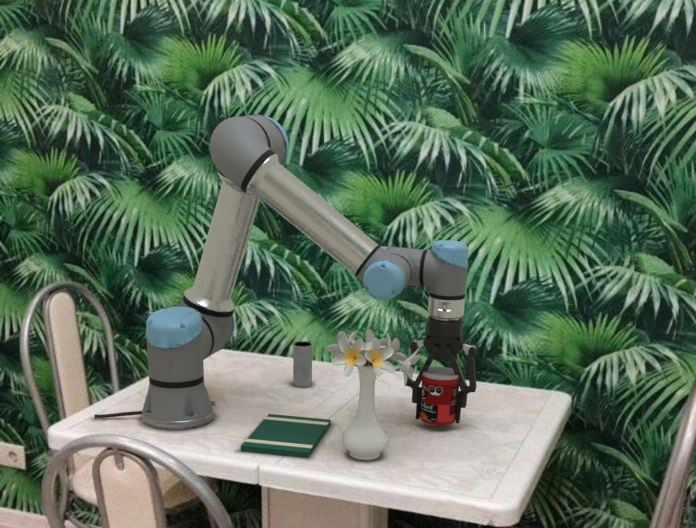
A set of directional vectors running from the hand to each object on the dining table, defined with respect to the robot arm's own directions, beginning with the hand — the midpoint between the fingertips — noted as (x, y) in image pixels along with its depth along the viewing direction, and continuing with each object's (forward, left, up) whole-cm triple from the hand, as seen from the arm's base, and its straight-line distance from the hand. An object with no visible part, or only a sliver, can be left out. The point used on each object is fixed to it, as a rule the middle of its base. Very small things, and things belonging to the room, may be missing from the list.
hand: (437, 419), depth 207 cm
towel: (-30, -15, -2) cm, 33 cm away
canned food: (0, 0, 0) cm, 0 cm away
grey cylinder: (-36, +21, -2) cm, 41 cm away
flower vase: (-12, -20, -2) cm, 23 cm away
